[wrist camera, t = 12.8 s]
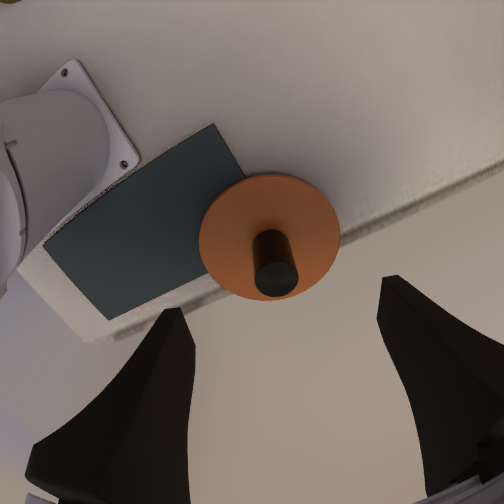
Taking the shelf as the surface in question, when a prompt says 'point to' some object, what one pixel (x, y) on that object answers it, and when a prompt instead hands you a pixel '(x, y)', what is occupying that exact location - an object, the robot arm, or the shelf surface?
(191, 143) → the felt mat
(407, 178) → the shelf surface
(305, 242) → the lid
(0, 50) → the shelf surface
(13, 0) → the pepper shaker
